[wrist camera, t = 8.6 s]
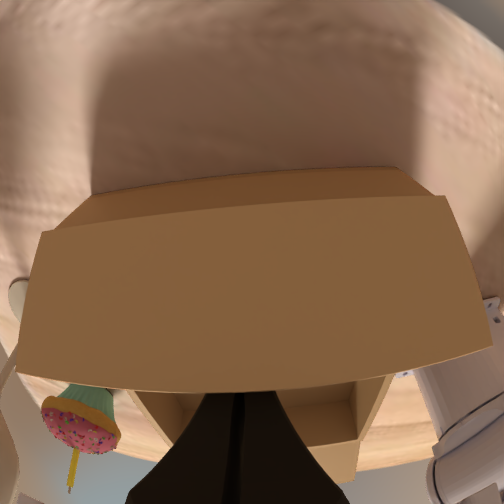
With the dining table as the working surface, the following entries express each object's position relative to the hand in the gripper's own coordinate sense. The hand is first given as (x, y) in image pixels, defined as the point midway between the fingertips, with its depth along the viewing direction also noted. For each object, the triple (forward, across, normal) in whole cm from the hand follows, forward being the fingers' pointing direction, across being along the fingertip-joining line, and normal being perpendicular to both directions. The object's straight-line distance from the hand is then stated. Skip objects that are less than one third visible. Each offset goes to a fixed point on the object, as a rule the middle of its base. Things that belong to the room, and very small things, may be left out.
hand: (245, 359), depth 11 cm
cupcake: (+8, +18, +15) cm, 25 cm away
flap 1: (0, 0, -3) cm, 3 cm away
